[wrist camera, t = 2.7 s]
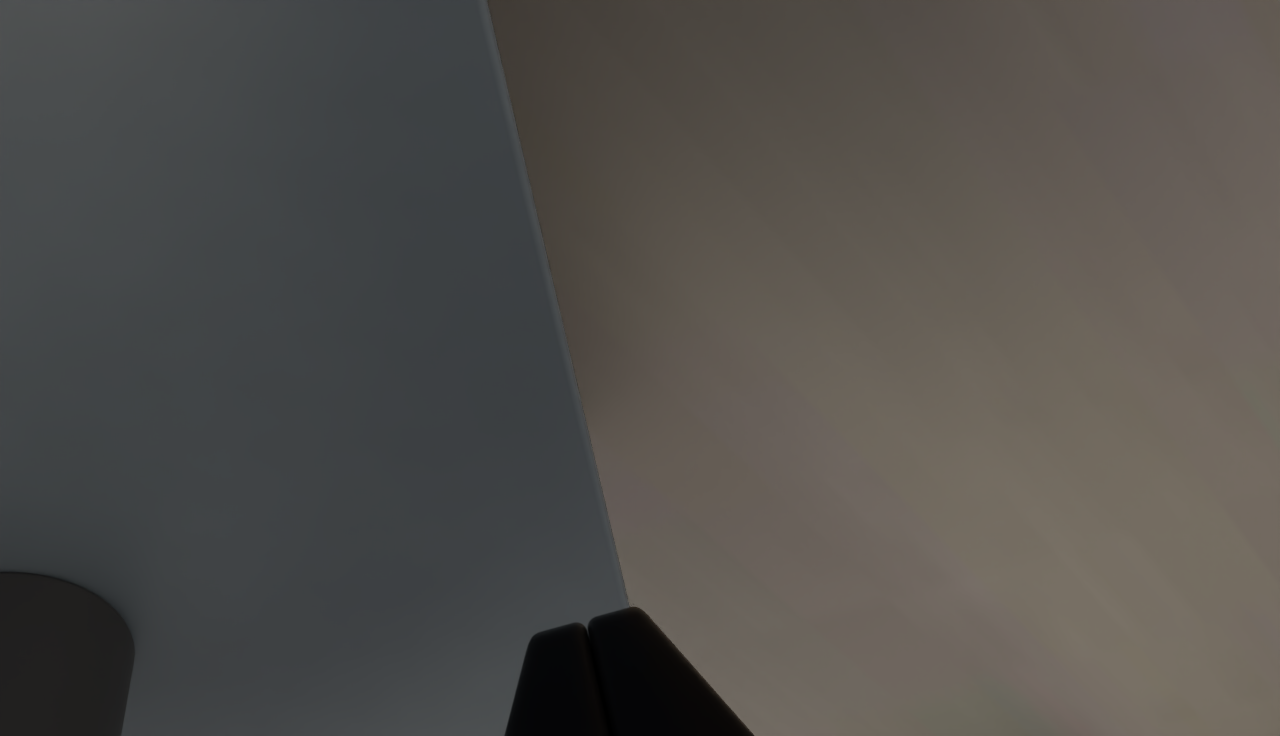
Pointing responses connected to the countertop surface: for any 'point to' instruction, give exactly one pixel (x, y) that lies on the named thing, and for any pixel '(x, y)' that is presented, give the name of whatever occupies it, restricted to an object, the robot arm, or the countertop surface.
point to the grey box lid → (278, 375)
